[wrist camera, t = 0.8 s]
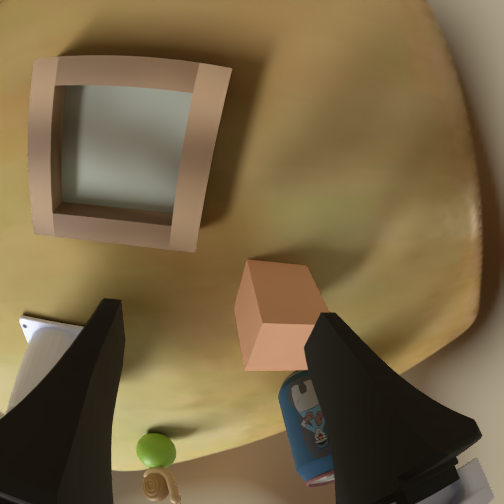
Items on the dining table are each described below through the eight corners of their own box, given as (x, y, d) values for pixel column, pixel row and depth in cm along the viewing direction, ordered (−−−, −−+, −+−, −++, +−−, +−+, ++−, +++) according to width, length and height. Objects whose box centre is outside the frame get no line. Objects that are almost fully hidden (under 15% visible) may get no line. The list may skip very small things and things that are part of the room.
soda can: (308, 399, 34) (334, 484, 24) (263, 392, 31) (285, 491, 21) (347, 368, 31) (385, 460, 22) (303, 357, 29) (339, 467, 19)
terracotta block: (288, 310, 24) (308, 369, 20) (233, 306, 23) (244, 370, 18) (306, 265, 22) (335, 324, 17) (246, 259, 21) (262, 323, 16)
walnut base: (195, 230, 19) (195, 252, 17) (49, 214, 17) (34, 233, 15) (228, 68, 14) (232, 68, 12) (55, 58, 11) (34, 58, 9)
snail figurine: (188, 434, 36) (195, 512, 26) (156, 443, 37) (159, 514, 27) (161, 422, 33) (164, 508, 23) (129, 431, 34) (128, 509, 24)
